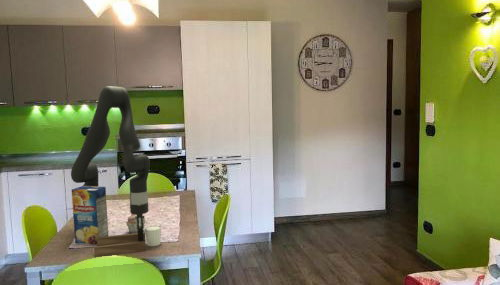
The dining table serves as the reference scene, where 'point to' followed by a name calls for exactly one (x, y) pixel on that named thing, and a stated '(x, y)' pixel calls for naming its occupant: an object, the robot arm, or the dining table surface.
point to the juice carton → (89, 214)
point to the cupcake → (132, 223)
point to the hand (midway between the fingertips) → (140, 241)
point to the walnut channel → (119, 244)
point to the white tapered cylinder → (153, 235)
